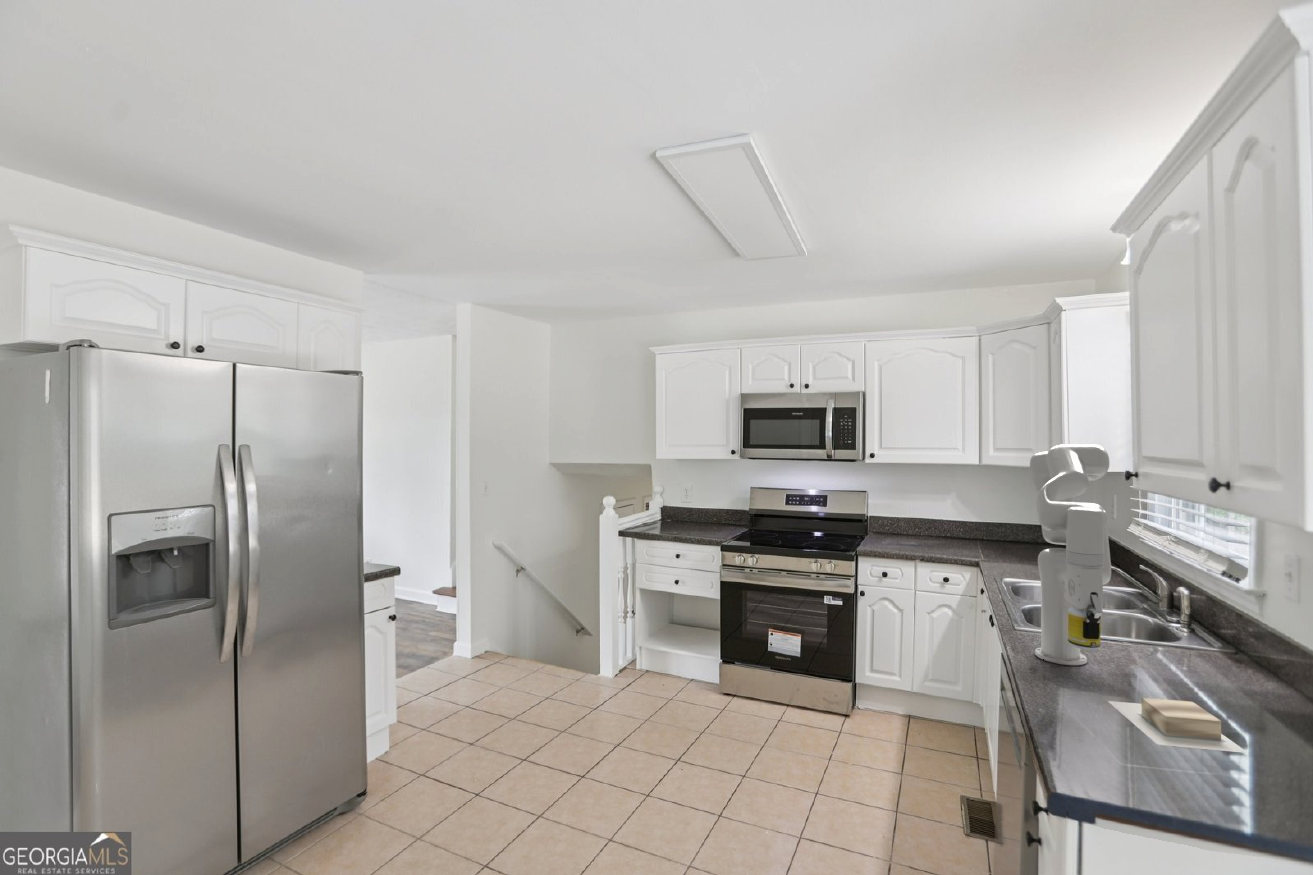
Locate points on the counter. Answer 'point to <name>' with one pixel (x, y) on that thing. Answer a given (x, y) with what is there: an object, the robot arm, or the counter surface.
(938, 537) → the counter surface
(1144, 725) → the off-white paper sheet
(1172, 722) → the pedestal block
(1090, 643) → the pill bottle
